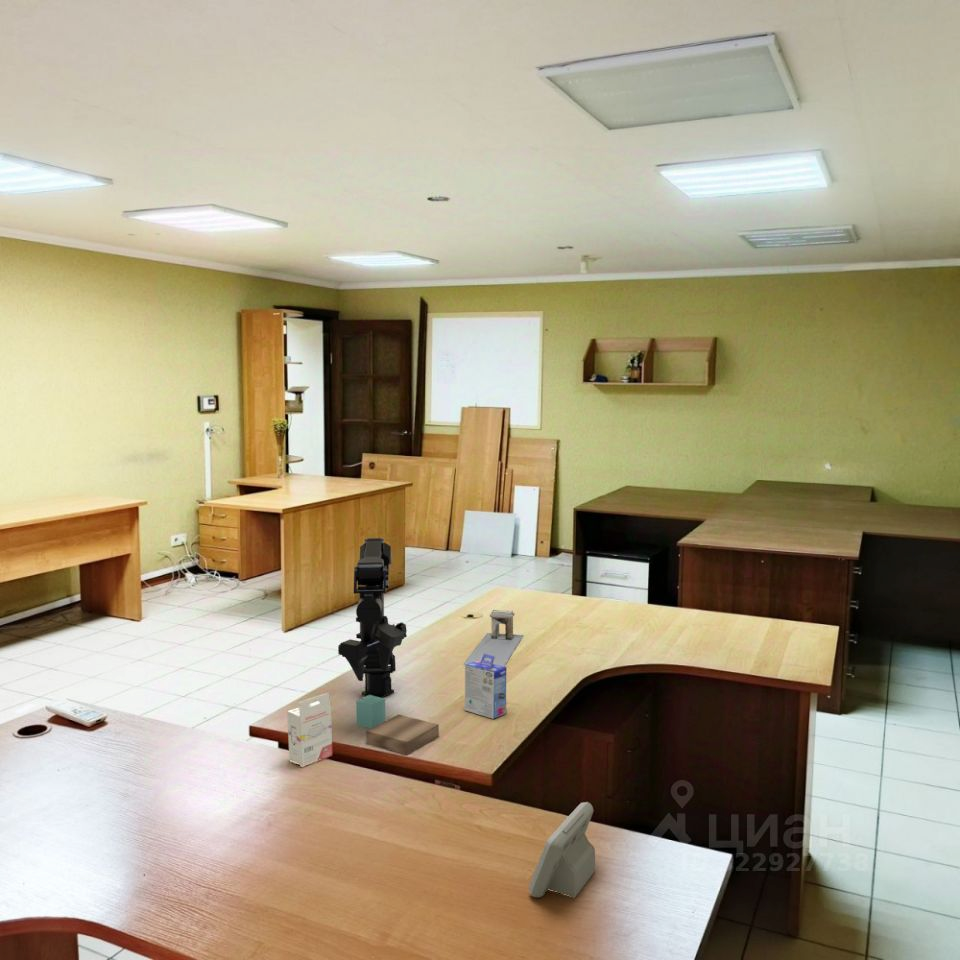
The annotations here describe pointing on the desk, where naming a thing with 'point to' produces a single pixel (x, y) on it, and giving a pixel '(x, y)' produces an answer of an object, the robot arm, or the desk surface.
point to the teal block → (370, 711)
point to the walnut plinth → (402, 734)
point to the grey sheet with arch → (497, 640)
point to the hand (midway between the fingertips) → (372, 675)
